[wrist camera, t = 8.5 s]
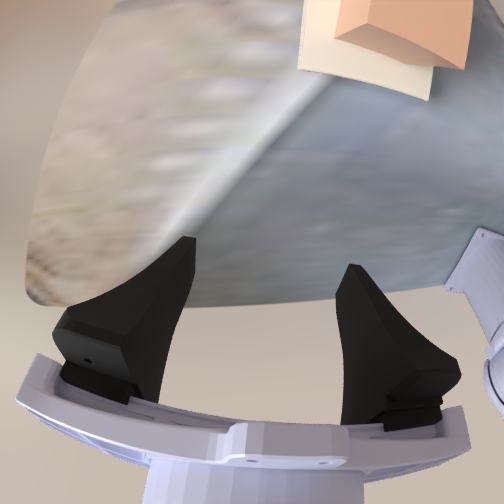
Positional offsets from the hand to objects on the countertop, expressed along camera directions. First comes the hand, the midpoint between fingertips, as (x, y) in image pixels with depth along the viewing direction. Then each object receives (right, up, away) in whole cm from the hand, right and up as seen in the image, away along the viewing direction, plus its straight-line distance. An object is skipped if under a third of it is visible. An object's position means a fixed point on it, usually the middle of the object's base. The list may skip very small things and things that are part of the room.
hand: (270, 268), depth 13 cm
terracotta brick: (+6, +15, -4) cm, 17 cm away
